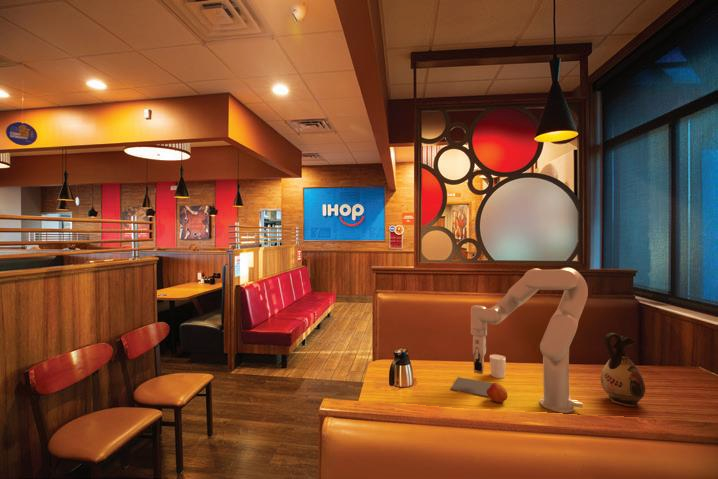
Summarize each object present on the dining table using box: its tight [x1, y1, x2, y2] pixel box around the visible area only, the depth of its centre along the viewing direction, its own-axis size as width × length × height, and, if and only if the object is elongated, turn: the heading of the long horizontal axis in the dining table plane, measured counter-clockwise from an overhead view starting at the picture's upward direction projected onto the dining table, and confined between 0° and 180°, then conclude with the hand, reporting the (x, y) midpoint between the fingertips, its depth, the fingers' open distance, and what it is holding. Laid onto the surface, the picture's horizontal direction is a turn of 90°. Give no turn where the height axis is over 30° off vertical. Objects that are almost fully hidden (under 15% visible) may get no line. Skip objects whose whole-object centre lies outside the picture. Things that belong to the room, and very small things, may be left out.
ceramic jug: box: [600, 332, 646, 408], centre depth 147 cm, size 17×15×30 cm
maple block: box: [473, 355, 485, 375], centre depth 162 cm, size 4×4×9 cm
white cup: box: [489, 354, 507, 379], centre depth 176 cm, size 8×8×10 cm
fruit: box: [487, 382, 508, 404], centre depth 148 cm, size 8×8×8 cm
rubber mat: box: [450, 376, 494, 399], centre depth 162 cm, size 18×16×1 cm
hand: (478, 368), depth 162 cm, fingers closed on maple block, 4 cm apart
